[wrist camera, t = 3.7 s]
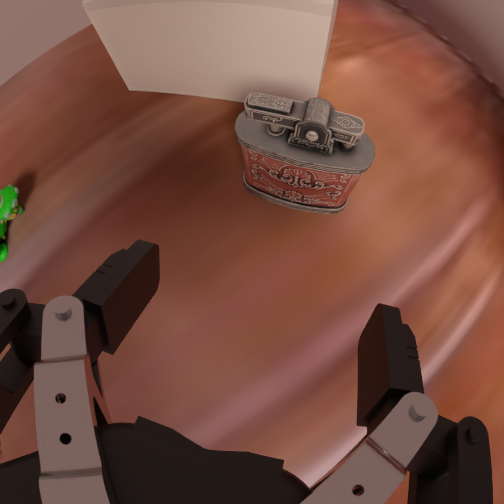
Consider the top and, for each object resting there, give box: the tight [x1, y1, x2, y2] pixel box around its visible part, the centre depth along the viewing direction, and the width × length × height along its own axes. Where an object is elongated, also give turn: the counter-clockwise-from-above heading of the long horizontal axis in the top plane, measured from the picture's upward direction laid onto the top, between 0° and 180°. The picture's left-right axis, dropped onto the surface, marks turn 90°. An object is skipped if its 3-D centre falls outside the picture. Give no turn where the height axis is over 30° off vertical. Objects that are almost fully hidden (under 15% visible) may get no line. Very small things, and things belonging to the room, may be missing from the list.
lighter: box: [235, 92, 375, 214], centre depth 19 cm, size 8×3×10 cm, turn 74°
